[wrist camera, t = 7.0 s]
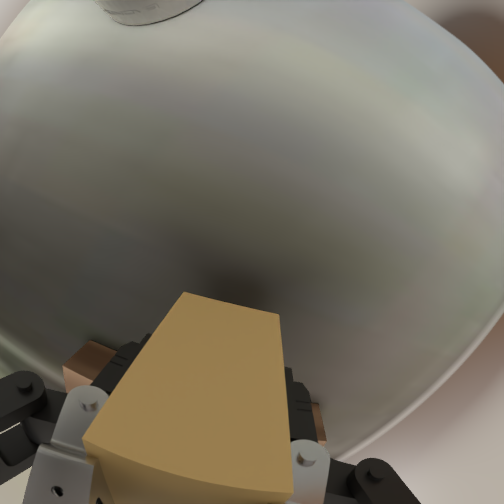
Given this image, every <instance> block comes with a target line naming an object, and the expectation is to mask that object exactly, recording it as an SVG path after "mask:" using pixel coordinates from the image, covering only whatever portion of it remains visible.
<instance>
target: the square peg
mask: <svg viewBox="0 0 504 504" xmlns="http://www.w3.org/2000/svg"><path fill="white" fill-rule="evenodd" d="M82 441H83V444H84V447H85V450H86V453H87V455H88V456H92V457H96V458H98V459H99V462H100V465H101V468H102V471H103V474H104V477H105V480H106V483H107V485H108V488H109V491H110V493H111V496H112V498H113V501H114V503H115V504H267V503H268V502H269V503H272V504H285V502H286V501H287V500H288V499H289V498H290V497H291V496H292V494H293V493H294V488H293V473H292V458H291V444H290V431H289V419H288V406H287V394H286V383H285V372H284V361H283V350H282V340H281V330H280V320H279V314H275V313H270V312H266V311H261V310H257V309H252V308H248V307H244V306H239V305H235V304H231V303H227V302H223V301H218V300H214V299H210V298H206V297H202V296H199V295H195V294H191V293H187V292H183V293H182V295H181V296H180V297H179V299H178V300H177V301H176V303H175V304H174V306H173V307H172V308H171V310H170V311H169V312H168V314H167V315H166V317H165V318H164V319H163V321H162V322H161V323H160V325H159V326H158V328H157V329H156V330H155V332H154V333H153V335H152V336H151V337H150V339H149V340H148V342H147V343H146V344H145V346H144V347H143V349H142V350H141V351H140V353H139V354H138V356H137V357H136V359H135V360H134V361H133V363H132V364H131V366H130V367H129V369H128V370H127V371H126V373H125V374H124V376H123V377H122V379H121V380H120V382H119V383H118V385H117V386H116V387H115V389H114V390H113V392H112V393H111V395H110V396H109V398H108V399H107V401H106V402H105V404H104V405H103V407H102V408H101V410H100V411H99V413H98V414H97V416H96V417H95V419H94V420H93V422H92V423H91V425H90V426H89V428H88V429H87V431H86V432H85V434H84V436H83V437H82Z"/></svg>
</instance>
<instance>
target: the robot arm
mask: <svg viewBox="0 0 504 504" xmlns="http://www.w3.org/2000/svg"><path fill="white" fill-rule="evenodd" d="M94 1H95V2H96V3H97V4H98V5H99V6H100V7H101V8H102V9H103V10H104V11H105V12H106V13H107V14H108V15H109V16H110V17H111V18H112V19H113V20H115V21H116V22H118V23H121V24H125V25H143V24H150V23H154V22H158V21H162V20H165V19H168V18H170V17H173V16H176V15H178V14H180V13H182V12H184V11H186V10H188V9H190V8H191V7H193V6H194V5H196V4H198V3H199V2H201V1H202V0H94ZM151 336H152V334H149V333H148V334H146V336H145V337H144V338H143V340H142V341H141V342H140V344H138V343H136V342H133V341H132V342H129V343H127V344H125V345H123V346H121V347H120V349H119V350H118V351H117V352H116V354H115V356H113V357H112V358H111V360H110V362H108V363H107V364H106V366H105V367H104V368H103V369H102V371H101V372H100V373H99V374H98V376H97V377H96V378H95V379H94V381H93V382H92V383H91V384H90V385H83V386H78V387H75V388H74V389H72V390H71V391H70V392H69V393H63V392H59V391H54V390H50V389H46V388H45V386H44V382H43V380H42V379H41V378H40V377H39V376H38V375H37V374H35V373H33V372H30V371H18V372H15V373H13V374H11V375H8V376H6V377H4V378H2V379H0V432H2V431H4V430H6V429H8V428H10V427H11V426H13V425H15V424H17V423H19V422H20V424H18V425H17V426H15V427H13V428H11V429H9V430H8V431H6V432H4V433H2V434H0V485H2V484H3V483H5V482H7V481H8V480H10V479H12V478H13V477H15V476H17V475H18V474H20V473H21V472H23V471H25V470H26V469H28V468H30V467H31V466H32V469H31V472H30V476H29V479H28V483H27V487H26V491H25V495H24V499H23V504H115V503H114V501H113V498H112V496H111V493H110V491H109V488H108V485H107V483H106V480H105V477H104V474H103V471H102V468H101V465H100V462H99V459H98V458H96V457H92V456H88V455H87V453H86V450H85V447H84V444H83V441H82V437H83V436H84V434H85V432H86V431H87V429H88V428H89V426H90V425H91V423H92V422H93V420H94V419H95V417H96V416H97V414H98V413H99V411H100V410H101V408H102V407H103V405H104V404H105V402H106V401H107V399H108V398H109V396H110V395H111V393H112V392H113V390H114V389H115V387H116V386H117V385H118V383H119V382H120V380H121V379H122V377H123V376H124V374H125V373H126V371H127V370H128V369H129V367H130V366H131V364H132V363H133V361H134V360H135V359H136V357H137V356H138V354H139V353H140V351H141V350H142V349H143V347H144V346H145V344H146V343H147V342H148V340H149V339H150V337H151ZM284 372H285V383H286V394H287V406H288V419H289V431H290V444H291V458H292V473H293V488H294V493H293V494H292V496H291V497H290V498H289V499H288V500H287V501H286V502H285V504H421V503H420V502H419V501H418V499H417V498H416V497H415V496H414V494H412V492H411V491H410V490H409V488H408V487H407V486H406V485H405V483H404V482H403V481H402V480H401V478H400V477H399V476H398V475H397V473H396V472H395V471H394V470H393V468H392V467H391V466H390V465H389V464H388V463H386V462H385V461H383V460H380V459H376V458H367V459H364V460H362V461H361V462H359V463H358V464H357V466H355V465H351V464H347V463H343V462H340V461H337V460H334V459H332V458H330V456H329V453H328V452H327V450H326V449H325V448H324V447H323V446H322V445H320V444H319V443H318V439H317V433H316V427H315V422H314V416H313V412H312V405H311V400H310V395H309V392H308V390H307V389H306V387H305V386H304V385H303V383H300V382H293V376H292V369H291V368H288V367H284ZM267 504H272V503H269V502H268V503H267Z"/></svg>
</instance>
